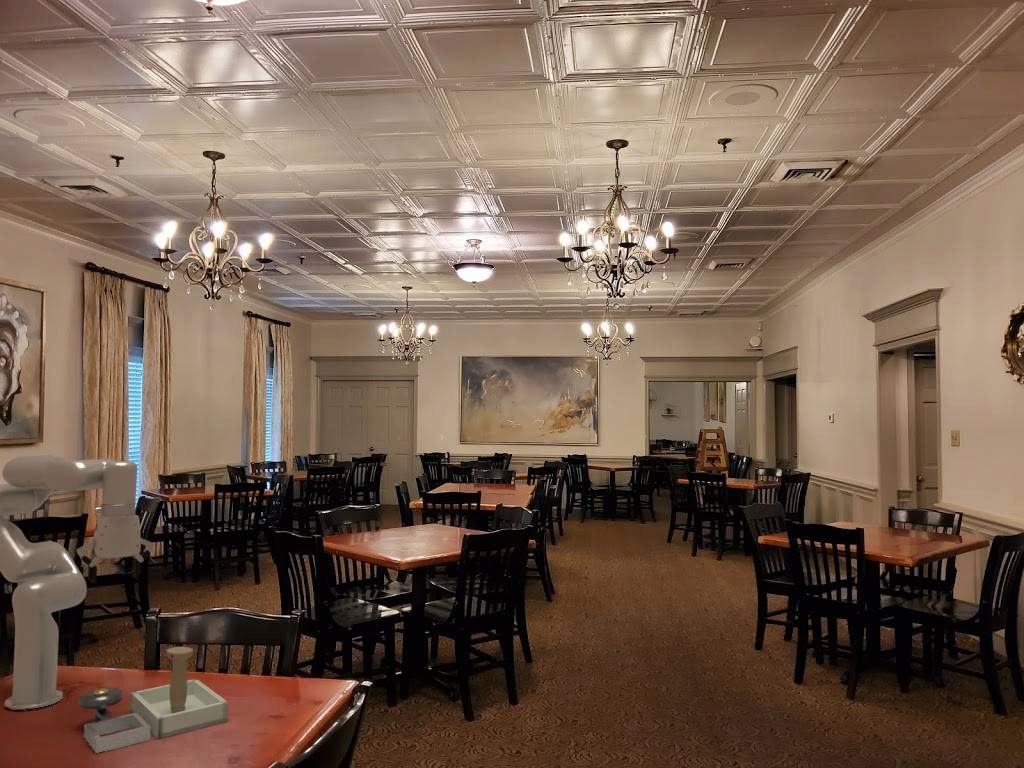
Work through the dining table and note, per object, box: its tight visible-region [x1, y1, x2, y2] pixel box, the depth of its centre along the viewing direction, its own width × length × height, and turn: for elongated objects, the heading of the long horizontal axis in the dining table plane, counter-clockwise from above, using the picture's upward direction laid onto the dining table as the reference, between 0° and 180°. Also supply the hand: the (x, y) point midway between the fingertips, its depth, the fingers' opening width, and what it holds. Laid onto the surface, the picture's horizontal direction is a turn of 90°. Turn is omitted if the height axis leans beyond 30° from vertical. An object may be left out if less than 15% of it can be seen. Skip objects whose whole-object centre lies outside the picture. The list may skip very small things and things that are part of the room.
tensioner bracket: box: [78, 686, 151, 754], centre depth 173 cm, size 21×11×8 cm, turn 42°
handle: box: [165, 646, 194, 713], centre depth 184 cm, size 5×6×15 cm
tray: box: [129, 678, 229, 740], centre depth 183 cm, size 22×16×4 cm
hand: (114, 580), depth 185 cm, fingers open, 9 cm apart
